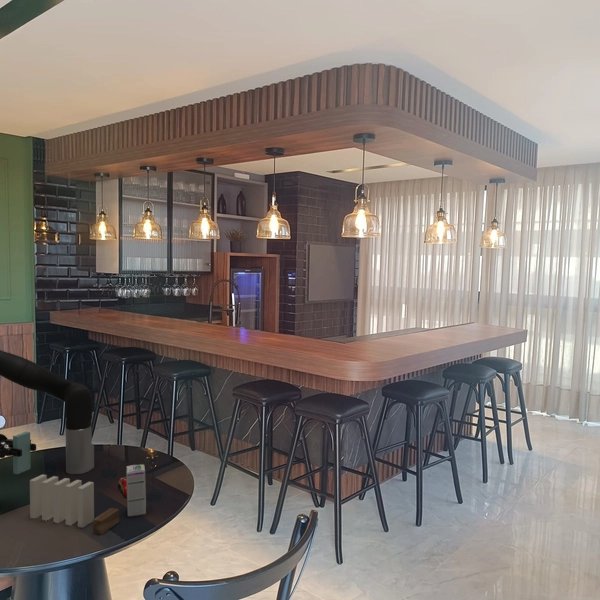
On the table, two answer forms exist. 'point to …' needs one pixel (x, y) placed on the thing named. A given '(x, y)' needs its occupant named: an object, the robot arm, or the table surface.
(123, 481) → the race car
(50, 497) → the domino
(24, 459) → the domino
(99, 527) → the end stop
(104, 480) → the table surface
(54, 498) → the domino
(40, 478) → the domino
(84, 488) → the domino
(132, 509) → the syrup box
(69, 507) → the domino
